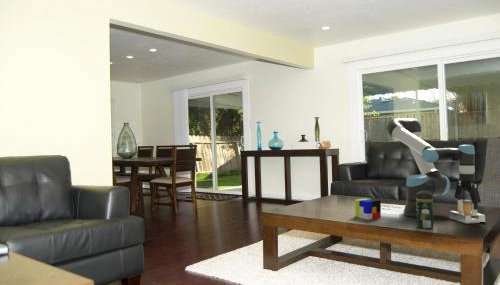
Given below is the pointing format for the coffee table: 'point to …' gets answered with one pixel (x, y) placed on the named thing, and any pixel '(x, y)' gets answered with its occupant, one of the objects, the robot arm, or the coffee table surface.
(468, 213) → the orange cylindrical piece
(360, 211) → the puzzle toy
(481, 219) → the white ridged tray
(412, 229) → the coffee table surface
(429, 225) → the coffee jar
